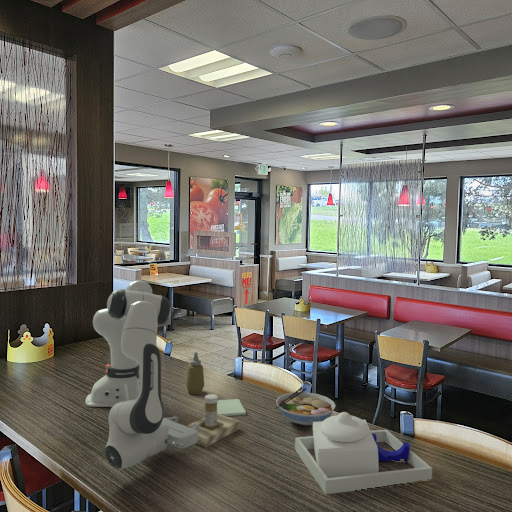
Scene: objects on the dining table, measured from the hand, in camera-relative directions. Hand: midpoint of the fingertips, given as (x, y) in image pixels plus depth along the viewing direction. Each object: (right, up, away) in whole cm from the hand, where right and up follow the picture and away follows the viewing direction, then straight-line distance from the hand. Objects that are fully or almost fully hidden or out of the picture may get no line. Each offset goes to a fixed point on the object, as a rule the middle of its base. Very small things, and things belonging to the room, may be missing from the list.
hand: (186, 422), depth 150 cm
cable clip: (+65, -10, -5) cm, 66 cm away
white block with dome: (+51, -9, -8) cm, 53 cm away
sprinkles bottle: (+7, -8, +10) cm, 15 cm away
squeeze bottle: (-4, -5, +49) cm, 49 cm away
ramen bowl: (+42, -8, +22) cm, 48 cm away
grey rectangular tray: (+56, -10, -8) cm, 57 cm away
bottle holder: (+7, -8, +10) cm, 15 cm away
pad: (+11, -6, +32) cm, 34 cm away
